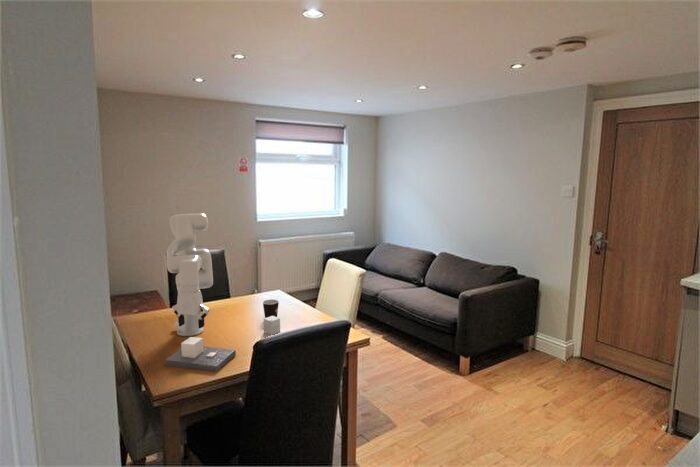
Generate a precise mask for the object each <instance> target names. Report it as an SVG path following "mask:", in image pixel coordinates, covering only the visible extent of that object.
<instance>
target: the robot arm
mask: <svg viewBox="0 0 700 467" xmlns="http://www.w3.org/2000/svg"><path fill="white" fill-rule="evenodd" d="M169 225H170V226H169V227H170V229H171V233H172V234H173V237H174V240H173V241H172V242H171V243H170V244H169V246H168V248H167V250H166V269H167V271H168V272H169V273H171V274H176V275H175V285H176V289H177V297H176V298H177V301H176V304H175V305H173V306H172V307H171V308H172V310H173V313H174V314H175V316H176V318H177V319H178V320H177V321H175V322H174V324H173V328H177V330H176V334H177V335H178V336H181V337H194V336H196V335H200V334H202V333H203V332H204V326H205V318H206V317H207V315H209V313H210V308H209V307H207V306H205V305H204V301H203V294H202V292H201V289H210V288H211V287H212V286H213V284H214V276H213V274H214V273H213V272H214V271H213V262H212V261H213V260H212V254H211V252H210V250H209V249H207V248H196V242H197V235H196V234H197V233H196V232H201V231H207V230H209V229H208V228H209V219H208V216H207V214H205V213H201V212H200V213H199V212H198V213H181V214H180V213H179V214H175V215H172V216H171V217H170V218H169ZM176 254H177V255H176Z"/></svg>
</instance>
